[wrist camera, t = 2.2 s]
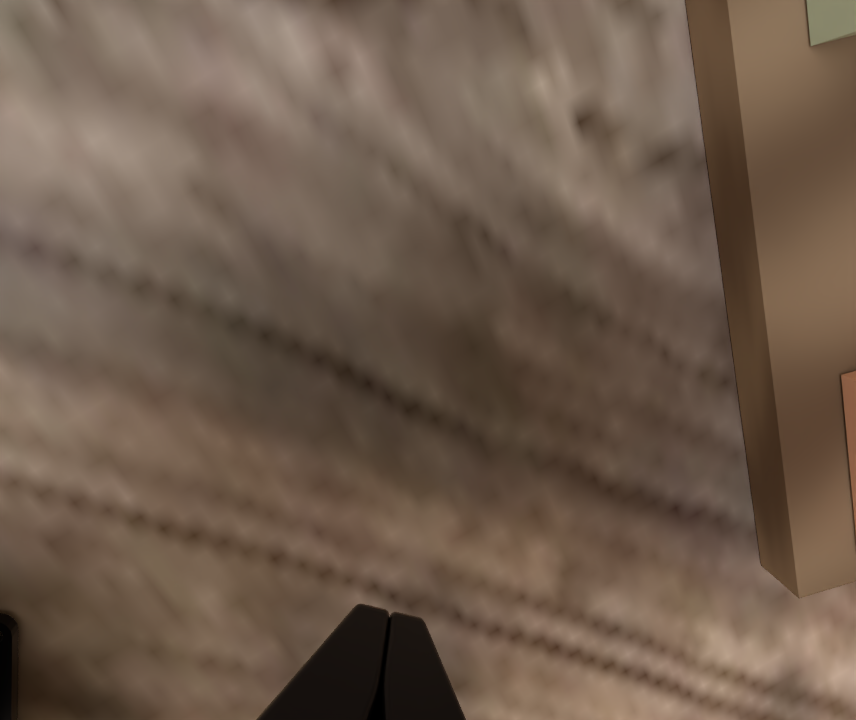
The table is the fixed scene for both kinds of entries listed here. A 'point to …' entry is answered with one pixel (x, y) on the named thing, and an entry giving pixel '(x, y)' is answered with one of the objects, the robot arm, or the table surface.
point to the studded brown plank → (786, 267)
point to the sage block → (831, 20)
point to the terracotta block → (851, 427)
